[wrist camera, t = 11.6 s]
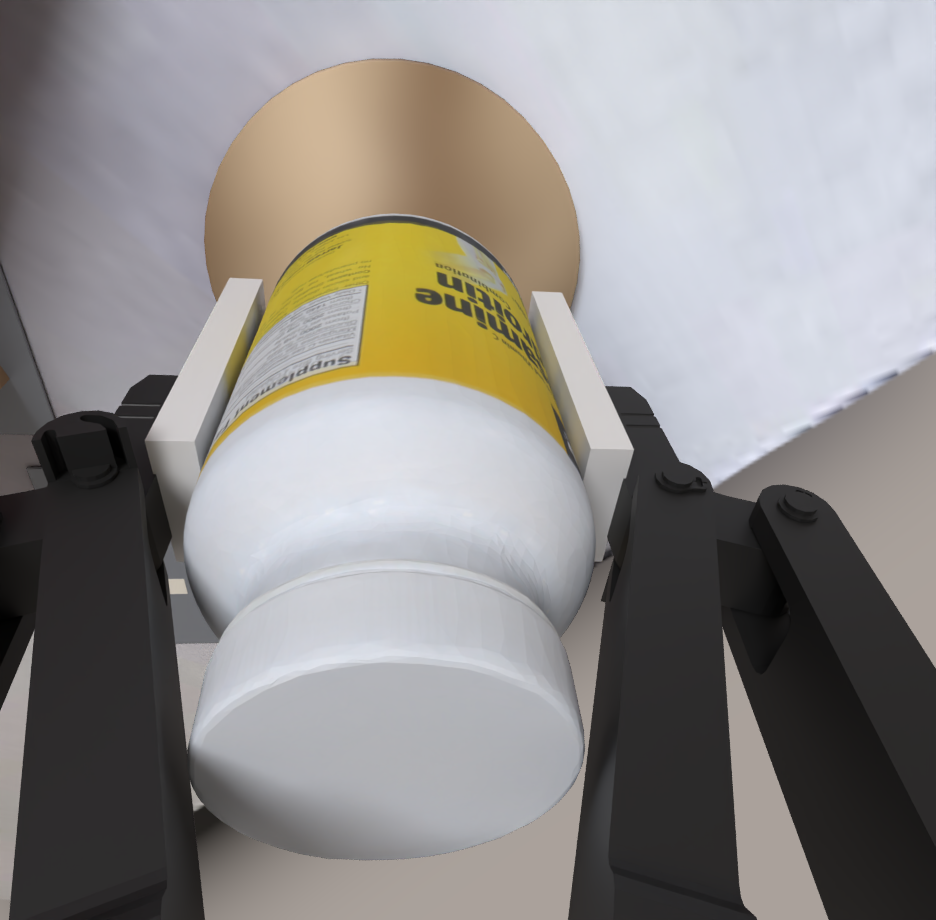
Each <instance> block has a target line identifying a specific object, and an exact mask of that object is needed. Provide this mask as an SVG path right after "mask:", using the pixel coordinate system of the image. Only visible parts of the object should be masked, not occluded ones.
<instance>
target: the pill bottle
mask: <svg viewBox="0 0 936 920" xmlns="http://www.w3.org/2000/svg"><path fill="white" fill-rule="evenodd" d="M595 550H596V536H595V526H594V519H593V512H592V509H591V505H590V502H589V498H588V495H587V492H586V489H585V485H584V482H583V479H582V476H581V473H580V470H579V467H578V465H577V462H576V459H575V456H574V453H573V450H572V448H571V445H570V442H569V439H568V436H567V434H566V430H565V427H564V424H563V421H562V418H561V415H560V412H559V410H558V407H557V404H556V401H555V398H554V395H553V392H552V389H551V386H550V383H549V380H548V377H547V374H546V371H545V368H544V365H543V362H542V359H541V356H540V353H539V350H538V347H537V343H536V340H535V337H534V334H533V331H532V328H531V326H530V322H529V319H528V316H527V313H526V310H525V307H524V305H523V302H522V299H521V297H520V294H519V292H518V290H517V288H516V286H515V284H514V282H513V280H512V279H511V277H510V276H509V274H508V273H507V271H506V270H505V268H504V267H503V266H502V264H501V263H500V262H499V261H498V260H497V259H496V257H495V256H494V255H493V254H492V253H491V252H490V251H489V250H487V249H486V248H485V247H484V246H483V245H482V244H480V243H479V242H478V241H477V240H475V239H474V238H472V237H471V236H469V235H468V234H466V233H464V232H462V231H461V230H459V229H457V228H455V227H453V226H451V225H448V224H446V223H443V222H440V221H437V220H434V219H430V218H426V217H422V216H416V215H408V214H379V215H373V216H367V217H362V218H358V219H355V220H352V221H349V222H346V223H343V224H341V225H339V226H336V227H334V228H332V229H330V230H328V231H327V232H325V233H323V234H322V235H320V236H319V237H317V238H316V239H315V240H313V241H312V242H311V243H309V244H308V245H307V246H306V247H305V248H304V249H302V250H301V251H300V252H299V253H298V254H297V255H296V257H295V258H294V259H293V260H292V261H291V262H290V264H289V265H288V266H287V268H286V269H285V271H284V272H283V274H282V275H281V277H280V279H279V280H278V282H277V284H276V287H275V289H274V291H273V293H272V295H271V298H270V300H269V302H268V305H267V308H266V310H265V313H264V315H263V318H262V321H261V323H260V326H259V328H258V331H257V333H256V336H255V338H254V341H253V343H252V345H251V348H250V350H249V353H248V355H247V357H246V360H245V362H244V365H243V368H242V370H241V373H240V375H239V378H238V380H237V383H236V385H235V388H234V390H233V393H232V395H231V398H230V400H229V403H228V405H227V408H226V410H225V413H224V415H223V418H222V420H221V423H220V425H219V427H218V430H217V432H216V435H215V437H214V440H213V442H212V445H211V447H210V450H209V452H208V454H207V457H206V459H205V462H204V464H203V467H202V469H201V472H200V475H199V477H198V480H197V483H196V485H195V488H194V491H193V493H192V497H191V501H190V504H189V508H188V512H187V516H186V521H185V528H184V543H183V551H184V561H185V568H186V573H187V577H188V581H189V584H190V587H191V590H192V593H193V596H194V598H195V601H196V604H197V606H198V607H199V609H200V611H201V613H202V615H203V617H204V619H205V621H206V622H207V624H208V626H209V627H210V628H211V630H212V631H213V633H214V634H215V635H216V637H217V638H218V639H219V643H218V645H217V647H216V648H215V650H214V652H213V654H212V656H211V659H210V661H209V663H208V666H207V668H206V672H205V675H204V680H203V685H202V689H201V694H200V699H199V703H198V707H197V711H196V715H195V720H194V724H193V728H192V733H191V737H190V741H189V746H188V750H187V764H188V773H189V778H190V781H191V784H192V787H193V789H194V791H195V792H196V795H197V796H198V798H199V799H200V801H201V802H202V803H203V804H204V805H205V806H206V808H207V809H208V810H209V811H210V812H211V813H213V814H214V815H215V816H216V817H218V818H219V819H220V820H221V821H222V822H224V823H226V824H227V825H229V826H231V827H232V828H234V829H235V830H236V831H238V832H240V833H242V834H244V835H246V836H248V837H250V838H252V839H254V840H257V841H260V842H263V843H266V844H269V845H271V846H274V847H277V848H280V849H284V850H288V851H291V852H295V853H299V854H303V855H309V856H315V857H321V858H328V859H351V860H353V859H354V860H394V859H409V858H419V857H428V856H435V855H440V854H446V853H450V852H455V851H459V850H463V849H466V848H470V847H473V846H477V845H480V844H483V843H486V842H489V841H492V840H496V839H498V838H501V837H503V836H505V835H507V834H509V833H511V832H513V831H515V830H517V829H519V828H521V827H524V826H526V825H528V824H530V823H531V822H533V821H535V820H536V819H538V818H539V817H541V816H542V815H543V814H545V813H546V812H547V811H549V810H550V809H551V808H552V807H554V805H556V804H557V803H558V802H559V801H560V800H561V799H562V798H563V797H564V796H565V794H566V793H567V792H568V791H569V789H570V788H571V787H572V785H573V784H574V782H575V780H576V778H577V776H578V774H579V771H580V769H581V767H582V763H583V758H584V752H585V744H584V729H583V724H582V719H581V714H580V710H579V705H578V700H577V695H576V690H575V685H574V680H573V676H572V671H571V667H570V663H569V660H568V656H567V653H566V650H565V648H564V646H563V644H562V642H561V640H560V637H561V636H562V635H563V634H564V632H565V631H566V630H567V628H568V627H569V625H570V624H571V622H572V620H573V619H574V617H575V616H576V614H577V612H578V610H579V608H580V606H581V604H582V602H583V599H584V597H585V595H586V592H587V590H588V587H589V584H590V581H591V577H592V573H593V568H594V562H595Z"/></svg>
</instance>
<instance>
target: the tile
mask: <svg viewBox="0 0 936 920" xmlns="http://www.w3.org/2000/svg"><path fill="white" fill-rule="evenodd" d="M0 366H1V367H2V368H3V370H4V371H5V373H6V374H7V376H8V377H9V378H10V379H9V380H8V381H7V383H6V384H5V385H4V386H3V387H2V388H1V389H0V434H22V435H35V433H36V431H37V430H39V429H40V428H41V427H42V426H44V425H45V424H46V423H47V422H50V421H52V420H54V419H55V418H54V415H53V412H52V409H51V407H50V404H49V401H48V398H47V395H46V393H45V390H44V387H43V384H42V381H41V379H40V376H39V373H38V370H37V367H36V364H35V362H34V359H33V356H32V353H31V350H30V348H29V345H28V342H27V339H26V336H25V333H24V331H23V328H22V325H21V322H20V319H19V317H18V314H17V311H16V308H15V305H14V303H13V300H12V297H11V294H10V291H9V288H8V286H7V283H6V280H5V277H4V274H3V272H2V269H1V266H0Z"/></svg>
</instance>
